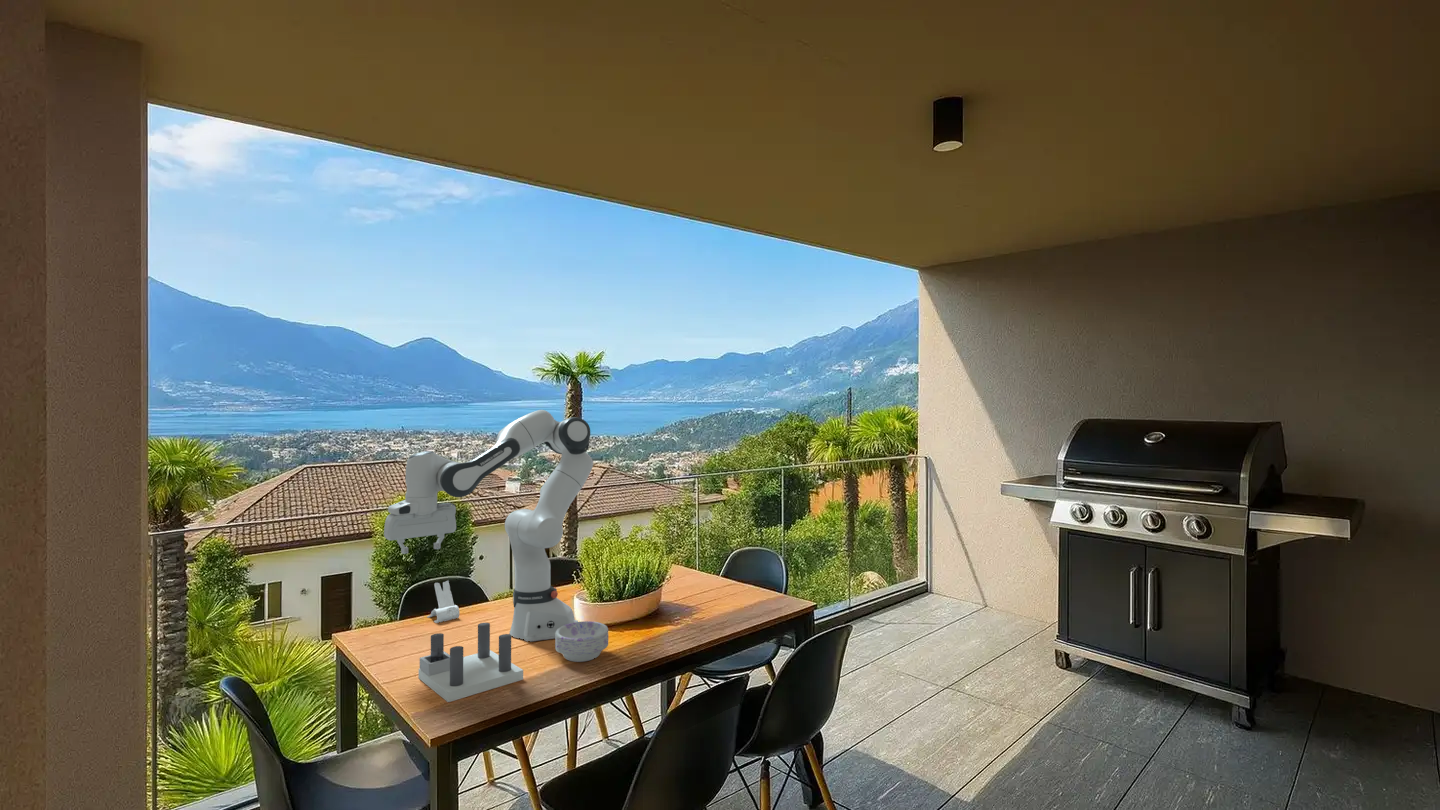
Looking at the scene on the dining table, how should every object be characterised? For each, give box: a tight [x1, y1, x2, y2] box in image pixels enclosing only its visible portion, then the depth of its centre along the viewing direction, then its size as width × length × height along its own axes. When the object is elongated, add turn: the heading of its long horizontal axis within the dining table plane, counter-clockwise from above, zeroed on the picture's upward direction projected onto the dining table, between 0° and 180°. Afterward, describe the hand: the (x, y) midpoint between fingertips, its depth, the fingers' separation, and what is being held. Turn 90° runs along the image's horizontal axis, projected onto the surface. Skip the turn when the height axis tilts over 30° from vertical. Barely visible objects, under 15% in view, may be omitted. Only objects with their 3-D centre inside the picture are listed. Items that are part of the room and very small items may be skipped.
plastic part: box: [426, 580, 460, 624], centre depth 228 cm, size 8×10×12 cm
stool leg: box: [430, 632, 445, 663], centre depth 177 cm, size 3×3×9 cm
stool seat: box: [418, 622, 524, 703], centre depth 177 cm, size 20×20×12 cm
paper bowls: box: [554, 620, 609, 663], centre depth 193 cm, size 15×15×8 cm
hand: (421, 551), depth 200 cm, fingers open, 8 cm apart
